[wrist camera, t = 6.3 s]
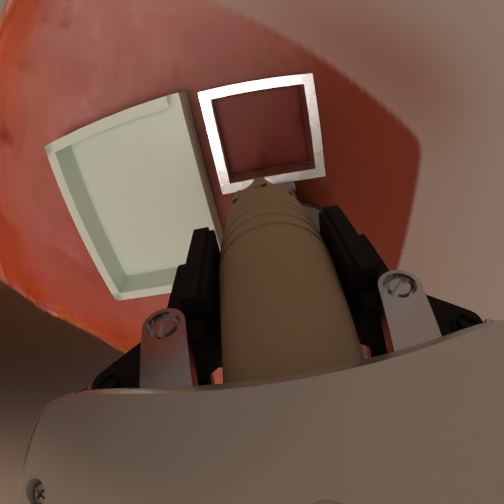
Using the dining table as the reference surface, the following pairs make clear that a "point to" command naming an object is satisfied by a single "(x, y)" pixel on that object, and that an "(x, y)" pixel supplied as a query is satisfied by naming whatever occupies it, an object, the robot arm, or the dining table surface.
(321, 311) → the handle
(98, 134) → the tray
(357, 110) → the dining table surface
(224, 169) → the bracket
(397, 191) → the dining table surface
